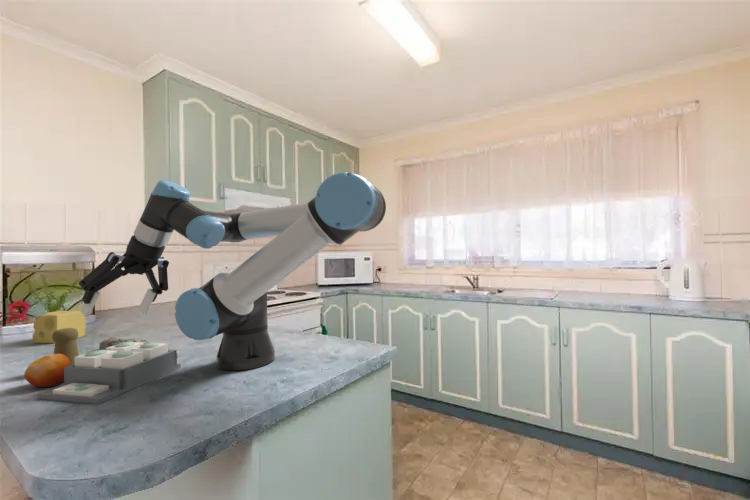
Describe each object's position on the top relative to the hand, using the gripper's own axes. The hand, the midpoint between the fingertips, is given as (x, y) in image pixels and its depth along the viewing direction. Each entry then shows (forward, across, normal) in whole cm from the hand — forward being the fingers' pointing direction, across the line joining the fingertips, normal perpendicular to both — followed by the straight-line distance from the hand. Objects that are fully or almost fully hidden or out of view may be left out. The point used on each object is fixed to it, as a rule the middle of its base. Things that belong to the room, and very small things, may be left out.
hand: (115, 312), depth 89 cm
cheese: (+42, -17, -45) cm, 64 cm away
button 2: (+5, +3, +15) cm, 16 cm away
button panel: (+10, +2, +14) cm, 17 cm away
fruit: (+18, +9, +2) cm, 20 cm away
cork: (+22, +1, -6) cm, 23 cm away
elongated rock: (+19, -15, -4) cm, 24 cm away
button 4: (+5, -4, +13) cm, 15 cm away
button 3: (+9, -3, +7) cm, 12 cm away
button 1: (+9, +5, +9) cm, 13 cm away
